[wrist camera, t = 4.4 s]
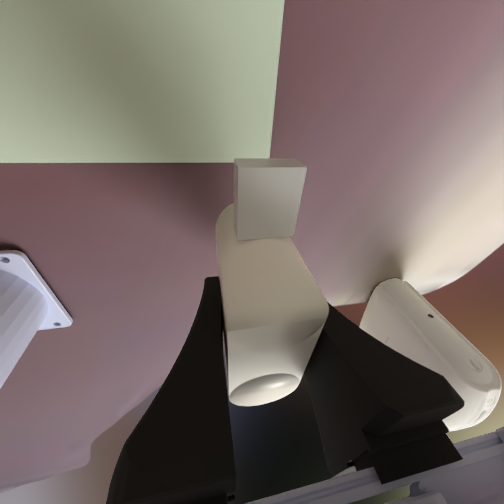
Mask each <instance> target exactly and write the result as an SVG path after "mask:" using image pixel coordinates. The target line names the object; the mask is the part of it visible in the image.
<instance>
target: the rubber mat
mask: <svg viewBox="0 0 504 504" xmlns="http://www.w3.org/2000/svg"><path fill="white" fill-rule="evenodd" d="M283 10H284V0H0V163H214V162H234V158H269V156H270V146H271V135H272V125H273V114H274V104H275V93H276V83H277V72H278V62H279V51H280V41H281V31H282V20H283Z"/></svg>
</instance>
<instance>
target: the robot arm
mask: <svg viewBox="0 0 504 504" xmlns="http://www.w3.org/2000/svg"><path fill="white" fill-rule="evenodd" d="M5 257H6V258H5ZM7 258H8V259H7ZM328 305H329V313H328V316H327V319H326V321H325V324H324V326H323V328H322V331H321V333H320V336H319V338H318V340H317V343H316V345H315V347H314V350H313V352H312V354H311V357H310V359H309V361H308V364H307V366H306V368H305V371H304V374H305V378H306V381H307V385H308V389H309V392H310V396H311V399H312V403H313V407H314V411H315V415H316V419H317V423H318V427H319V431H320V435H321V440H322V444H323V448H324V453H325V458H326V462H327V466H328V469H329V472H330V475H331V477H332V478H333V477H336V478H333V479H329V480H326V481H322V482H319V483H315V484H312V485H308V486H305V487H301V488H298V489H294V490H291V491H288V492H284V493H281V494H277V495H274V496H270V497H267V498H263V499H260V500H257V501H253V502H250V503H246V504H349V503H352V502H355V501H358V500H361V499H365V498H368V497H371V496H374V495H377V494H380V493H383V492H386V491H390V490H393V489H396V488H399V487H402V486H406V485H408V484H411V485H410V495H409V496H408V497H404V498H401V499H397V500H394V501H391V502H387V503H384V504H504V427H502V428H499V429H497V430H496V431H495V432H492V433H488V434H485V435H482V436H478V437H474V438H471V439H468V440H464V441H461V442H458V443H454V444H453V443H452V442H451V441H450V439H449V438H448V436H447V435H446V433H447V432H449V429H448V428H447V426H446V425H445V423H444V422H443V421H442V420H443V419H445V418H447V417H448V416H450V415H452V414H454V413H455V412H457V411H459V410H460V409H462V408H463V407H464V400H463V399H462V398H461V396H460V395H459V394H458V393H457V392H456V390H455V389H454V388H453V387H452V386H451V384H450V383H449V382H448V381H447V380H446V378H445V377H444V376H442V375H440V374H439V373H437V372H435V371H433V370H431V369H429V368H427V367H425V366H423V365H421V364H419V363H417V362H415V361H413V360H411V359H409V358H408V357H406V356H404V355H402V354H400V353H399V352H397V351H395V350H393V349H392V348H390V347H388V346H387V345H385V344H383V343H382V342H380V341H379V340H377V339H376V338H374V337H373V336H371V335H370V334H368V333H367V332H365V331H364V330H362V329H361V328H359V327H358V326H357V325H355V324H354V323H353V322H351V321H350V320H348V319H347V318H346V317H345V316H343V315H342V314H341V313H340V312H338V311H337V310H336V309H335V308H334V307H333V306H331V305H330V304H329V303H328ZM72 322H73V320H72V318H71V317H70V315H69V314H68V313H67V311H66V310H65V308H64V307H63V306H62V304H61V303H60V302H59V300H58V299H57V297H56V296H55V295H54V293H53V292H52V291H51V289H50V288H49V286H48V285H47V284H46V282H45V281H44V280H43V278H42V277H41V275H40V274H39V273H38V271H37V270H36V269H35V267H34V266H33V265H32V263H31V262H30V260H29V259H28V258H27V256H26V255H25V254H24V253H22V252H21V251H17V250H4V251H0V389H1V387H2V385H3V384H4V382H5V381H6V379H7V377H8V376H9V374H10V373H11V371H12V370H13V368H14V366H15V365H16V363H17V362H18V360H19V359H20V357H21V355H22V354H23V352H24V351H25V349H26V347H27V346H28V344H29V343H30V341H31V340H32V338H33V336H34V335H35V333H36V332H37V330H43V329H52V328H60V327H67V326H70V325H71V324H72ZM354 471H357V472H354ZM350 472H353V473H350ZM347 473H350V474H347ZM343 474H346V475H343ZM340 475H343V476H340ZM337 476H339V477H337ZM235 486H236V473H235V463H234V454H233V443H232V434H231V425H230V416H229V407H228V397H227V387H226V378H225V368H224V360H223V322H222V301H221V287H220V280H219V276H217V277H207V278H206V279H205V284H204V290H203V294H202V298H201V302H200V305H199V308H198V311H197V314H196V317H195V320H194V322H193V325H192V327H191V330H190V332H189V335H188V337H187V339H186V341H185V344H184V346H183V348H182V350H181V352H180V354H179V356H178V358H177V360H176V362H175V364H174V365H173V367H172V369H171V371H170V373H169V375H168V376H167V378H166V380H165V382H164V383H163V385H162V387H161V388H160V390H159V392H158V393H157V395H156V396H155V398H154V400H153V401H152V403H151V405H150V406H149V408H148V409H147V411H146V412H145V414H144V415H143V417H142V419H141V420H140V421H139V423H138V424H137V426H136V427H135V429H134V430H133V432H132V433H131V435H130V436H129V438H128V439H127V440H126V442H125V444H124V446H123V449H122V451H121V453H120V456H119V459H118V461H117V464H116V467H115V470H114V473H113V476H112V480H111V483H110V488H109V492H108V497H107V502H106V504H228V502H230V501H234V500H235V496H234V491H235Z"/></svg>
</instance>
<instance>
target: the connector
mask: <svg viewBox="0 0 504 504" xmlns="http://www.w3.org/2000/svg"><path fill="white" fill-rule="evenodd" d="M306 171H307V167H306V166H305V165H304V164H303V163H301V162H300V161H299V160H298V159H296V158H234V203H232V204H230V205H229V206H227V207H226V208H225V209H224V210H223V211H222V212H221V214H220V215H219V217H218V219H217V222H216V227H215V233H216V251H217V269H218V276H219V280H220V287H221V301H222V322H223V342H224V352H225V362H226V372H227V383H228V393H229V400H230V401H231V402H232V403H233V404H236V405H240V406H255V405H260V404H266V403H269V402H272V401H275V400H278V399H280V398H282V397H284V396H286V395H288V394H290V393H291V392H293V391H294V390H295V389H296V388H297V386H298V385H299V383H300V380H301V378H302V376H303V373H304V371H305V368H306V366H307V364H308V361H309V359H310V357H311V354H312V352H313V350H314V347H315V345H316V343H317V340H318V338H319V336H320V333H321V331H322V328H323V326H324V324H325V321H326V319H327V316H328V313H329V305H328V302H327V301H326V299H325V297H324V295H323V294H322V292H321V290H320V288H319V287H318V285H317V283H316V282H315V280H314V278H313V276H312V275H311V273H310V271H309V269H308V268H307V266H306V264H305V263H304V261H303V259H302V257H301V256H300V254H299V252H298V250H297V249H296V247H295V245H294V243H293V242H292V240H291V238H290V237H293V236H294V231H295V226H296V221H297V216H298V211H299V206H300V201H301V196H302V191H303V186H304V181H305V176H306Z"/></svg>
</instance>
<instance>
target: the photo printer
mask: <svg viewBox="0 0 504 504" xmlns="http://www.w3.org/2000/svg"><path fill="white" fill-rule="evenodd" d="M359 328H361V329H362V330H364V331H365V332H367V333H368V334H370V335H371V336H373V337H374V338H376V339H377V340H379V341H380V342H382V343H383V344H385V345H387V346H388V347H390V348H392V349H393V350H395V351H397V352H399V353H400V354H402V355H404V356H406V357H408V358H409V359H411V360H413V361H415V362H417V363H419V364H421V365H423V366H425V367H427V368H429V369H431V370H433V371H435V372H437V373H439V374H440V375H442V376H444V377H445V378H446V380H447V381H448V382H449V383H450V384H451V386H452V387H453V388H454V389H455V390H456V392H457V393H458V394H459V395H460V396H461V398H462V399H463V400H464V407H463V408H462V409H460V410H459V411H457V412H455V413H454V414H452V415H450V416H448V417H447V418H445V419H443V420H442V421H443V422H444V423H445V425H446V426H447V428H448V429H449V431H456V430H460V429H463V428H468V427H471V426H474V425H476V424H478V423H480V422H481V421H483V420H484V419H485V418H486V417H487V416H488V415H489V414H490V413H491V412H492V410H493V409H494V407H495V406H496V404H497V402H498V399H499V396H500V393H501V389H502V381H501V377H500V375H499V373H498V371H497V370H496V368H495V367H494V365H493V364H492V363H491V362H490V361H489V360H488V359H487V358H486V357H485V356H484V355H483V354H482V353H481V352H480V351H479V350H478V349H477V348H475V347H474V346H473V345H472V344H471V343H470V342H469V341H468V340H467V339H466V338H465V337H464V336H463V335H462V334H461V333H460V332H459V331H458V330H457V329H456V328H455V327H454V326H452V325H451V324H450V323H449V322H448V321H447V320H446V319H445V318H444V317H443V316H442V315H441V314H440V313H439V312H438V311H437V310H436V309H435V308H434V307H433V306H432V305H431V304H430V303H429V302H428V301H427V300H426V299H424V297H423V296H422V295H421V294H419V293H418V292H417V291H416V290H415V289H414V288H413V287H412V286H411V285H410V284H409V283H408V282H406V281H402V280H400V279H397V278H393V279H388V280H385V281H383V282H381V283H379V285H378V286H377V287H376V288H375V289H374V291H373V293H372V295H371V297H370V300H369V302H368V304H367V307H366V309H365V312H364V314H363V317H362V320H361V323H360V326H359Z"/></svg>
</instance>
